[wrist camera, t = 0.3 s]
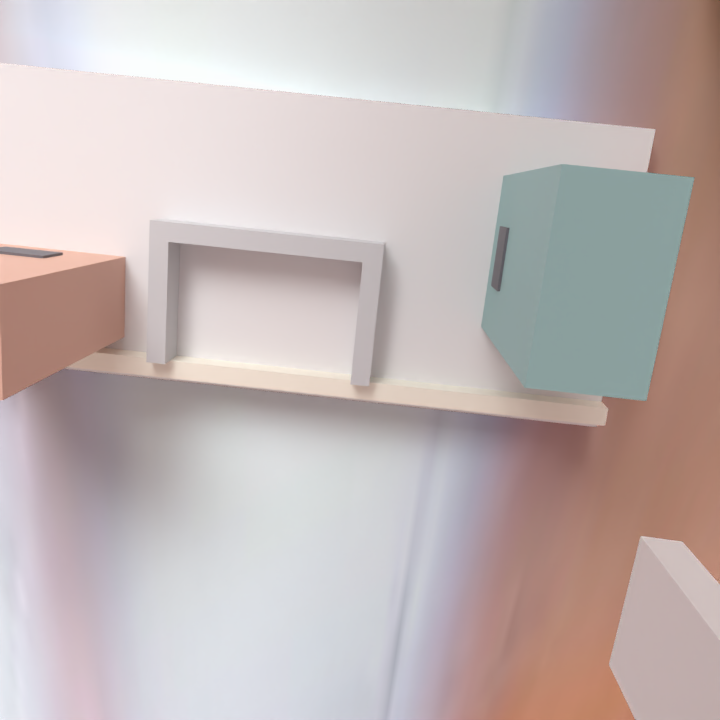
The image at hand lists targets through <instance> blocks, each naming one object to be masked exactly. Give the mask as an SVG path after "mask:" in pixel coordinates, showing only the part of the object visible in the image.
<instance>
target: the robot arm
mask: <svg viewBox="0 0 720 720" xmlns="http://www.w3.org/2000/svg"><path fill="white" fill-rule="evenodd" d="M609 666H610V668H611V670H612V672H613V674H614V676H615V678H616V680H617V682H618V685H619V687H620V689H621V691H622V693H623V695H624V697H625V699H626V701H627V704H628V706H629V708H630V710H631V712H632V714H633V716H634V718H635V720H720V584H719V583H718V582H717V581H716V580H715V579H714V577H713V576H712V575H711V574H710V573H709V572H708V571H707V569H706V568H705V567H704V566H703V565H702V564H701V562H700V561H699V560H698V559H697V558H696V557H695V555H694V554H693V553H692V552H691V551H690V550H689V549H688V547H687V546H686V545H685V544H684V543H683V542H682V541H675V540H667V539H660V538H652V537H645V536H641V537H640V541H639V545H638V549H637V553H636V557H635V561H634V565H633V569H632V573H631V577H630V581H629V585H628V590H627V594H626V598H625V602H624V606H623V610H622V614H621V618H620V622H619V626H618V630H617V634H616V638H615V642H614V646H613V650H612V654H611V658H610V662H609Z"/></svg>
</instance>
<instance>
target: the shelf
mask: <svg viewBox="0 0 720 720" xmlns="http://www.w3.org/2000/svg"><path fill="white" fill-rule="evenodd" d="M655 130H656V129H648V128H638V127H629V126H619V125H609V124H599V123H589V122H579V121H569V120H559V119H549V118H539V117H530V116H520V115H510V114H500V113H490V112H480V111H470V110H460V109H450V108H440V107H431V106H421V105H411V104H401V103H391V102H381V101H371V100H361V99H351V98H341V97H332V96H322V95H312V94H302V93H292V92H282V91H272V90H262V89H252V88H242V87H233V86H223V85H213V84H203V83H193V82H183V81H173V80H163V79H153V78H143V77H134V76H124V75H114V74H104V73H94V72H84V71H74V70H64V69H54V68H44V67H35V66H25V65H15V64H5V63H0V244H9V245H19V246H28V247H38V248H47V249H57V250H66V251H75V252H85V253H94V254H104V255H113V256H122V257H126V258H125V328H124V337H123V338H121V339H119V340H118V341H116V342H114V343H112V344H110V345H108V346H106V347H104V348H102V349H100V350H98V351H96V352H95V353H93V354H91V355H89V356H87V357H85V358H83V359H81V360H79V361H77V362H75V363H73V364H71V365H70V366H68V367H66V368H64V369H71V370H80V371H89V372H98V373H107V374H117V375H126V376H135V377H144V378H153V379H162V380H171V381H180V382H190V383H199V384H208V385H217V386H226V387H235V388H244V389H253V390H263V391H272V392H281V393H290V394H299V395H308V396H317V397H326V398H336V399H345V400H354V401H363V402H372V403H381V404H390V405H399V406H408V407H418V408H427V409H436V410H445V411H454V412H463V413H472V414H481V415H491V416H500V417H509V418H518V419H527V420H536V421H545V422H554V423H564V424H573V425H582V426H591V427H597V425H601V426H605V423H606V418H607V413H608V408H607V407H606V406H605V405H604V404H603V403H602V397H603V396H596V395H587V394H578V393H569V392H559V391H550V390H541V389H532V388H525V387H524V386H523V385H522V383H521V382H520V380H519V379H518V378H517V376H516V375H515V373H514V372H513V371H512V369H511V368H510V366H509V365H508V364H507V362H506V361H505V359H504V358H503V357H502V355H501V354H500V352H499V351H498V350H497V348H496V347H495V345H494V344H493V343H492V341H491V340H490V338H489V337H488V336H487V334H486V333H485V331H484V330H483V329H482V327H481V324H482V317H483V311H484V304H485V297H486V290H487V284H488V277H489V270H490V263H491V257H492V250H493V243H494V236H495V229H496V223H497V216H498V209H499V202H500V196H501V189H502V182H503V176H505V175H510V174H515V173H520V172H525V171H530V170H535V169H540V168H545V167H550V166H554V165H559V164H568V165H578V166H588V167H597V168H607V169H617V170H627V171H636V172H646V173H647V170H648V165H649V160H650V155H651V150H652V145H653V140H654V135H655Z"/></svg>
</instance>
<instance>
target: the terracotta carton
mask: <svg viewBox="0 0 720 720" xmlns="http://www.w3.org/2000/svg"><path fill="white" fill-rule="evenodd" d="M125 258H126V257H122V256H113V255H104V254H94V253H85V252H75V251H66V250H57V249H47V248H38V247H28V246H19V245H9V244H0V400H4V399H6V398H8V397H10V396H12V395H14V394H16V393H18V392H20V391H21V390H23V389H25V388H27V387H29V386H31V385H33V384H35V383H37V382H39V381H41V380H43V379H45V378H46V377H48V376H50V375H52V374H54V373H56V372H58V371H60V370H62V369H64V368H66V367H68V366H70V365H71V364H73V363H75V362H77V361H79V360H81V359H83V358H85V357H87V356H89V355H91V354H93V353H95V352H96V351H98V350H100V349H102V348H104V347H106V346H108V345H110V344H112V343H114V342H116V341H118V340H119V339H121V338H123V337H124V328H125Z"/></svg>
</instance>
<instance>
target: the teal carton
mask: <svg viewBox="0 0 720 720" xmlns="http://www.w3.org/2000/svg"><path fill="white" fill-rule="evenodd" d="M694 178H695V177H685V176H676V175H666V174H656V173H646V172H636V171H627V170H617V169H607V168H597V167H588V166H578V165H568V164H559V165H554V166H550V167H545V168H540V169H535V170H530V171H525V172H520V173H515V174H510V175H505V176H503V182H502V189H501V196H500V202H499V209H498V216H497V223H496V229H495V236H494V243H493V250H492V257H491V263H490V270H489V277H488V284H487V290H486V297H485V304H484V311H483V317H482V324H481V327H482V329H483V330H484V331H485V333H486V334H487V336H488V337H489V338H490V340H491V341H492V343H493V344H494V345H495V347H496V348H497V350H498V351H499V352H500V354H501V355H502V357H503V358H504V359H505V361H506V362H507V364H508V365H509V366H510V368H511V369H512V371H513V372H514V373H515V375H516V376H517V378H518V379H519V380H520V382H521V383H522V385H523V386H524V387H525V388H532V389H541V390H550V391H559V392H569V393H578V394H587V395H596V396H605V397H615V398H624V399H633V400H642V401H646V400H647V396H648V391H649V386H650V382H651V377H652V372H653V368H654V363H655V358H656V354H657V349H658V345H659V340H660V335H661V331H662V326H663V321H664V317H665V312H666V307H667V303H668V298H669V294H670V289H671V284H672V280H673V275H674V270H675V266H676V261H677V256H678V252H679V247H680V243H681V238H682V233H683V229H684V224H685V219H686V215H687V210H688V205H689V201H690V196H691V192H692V187H693V182H694Z"/></svg>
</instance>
